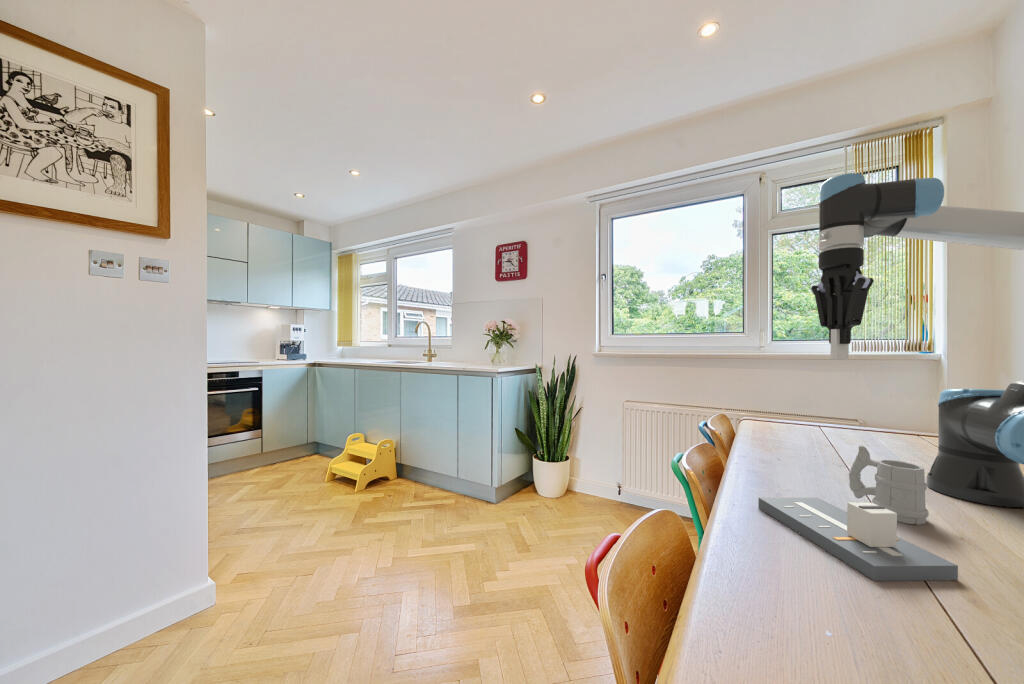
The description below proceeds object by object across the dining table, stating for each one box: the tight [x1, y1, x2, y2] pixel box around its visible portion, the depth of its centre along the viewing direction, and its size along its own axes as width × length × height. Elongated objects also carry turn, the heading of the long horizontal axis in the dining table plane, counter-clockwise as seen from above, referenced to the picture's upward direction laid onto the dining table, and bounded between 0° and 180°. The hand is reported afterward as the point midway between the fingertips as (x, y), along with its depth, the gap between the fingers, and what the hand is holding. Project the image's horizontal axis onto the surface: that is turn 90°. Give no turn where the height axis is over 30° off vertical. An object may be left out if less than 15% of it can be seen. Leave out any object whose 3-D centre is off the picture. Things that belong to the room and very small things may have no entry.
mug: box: [848, 444, 929, 526], centre depth 78 cm, size 8×12×12 cm, turn 28°
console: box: [757, 497, 959, 582], centre depth 67 cm, size 12×24×2 cm, turn 3°
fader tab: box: [846, 502, 898, 547], centre depth 62 cm, size 4×4×5 cm
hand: (839, 359), depth 86 cm, fingers closed
